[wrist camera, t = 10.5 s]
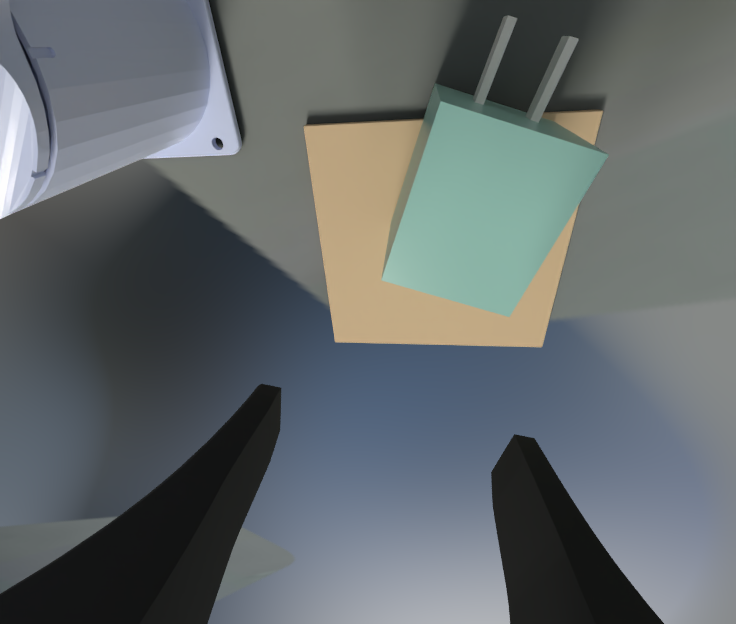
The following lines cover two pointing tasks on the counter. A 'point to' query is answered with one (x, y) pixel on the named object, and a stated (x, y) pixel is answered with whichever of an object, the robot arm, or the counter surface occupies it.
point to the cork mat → (370, 237)
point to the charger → (487, 191)
